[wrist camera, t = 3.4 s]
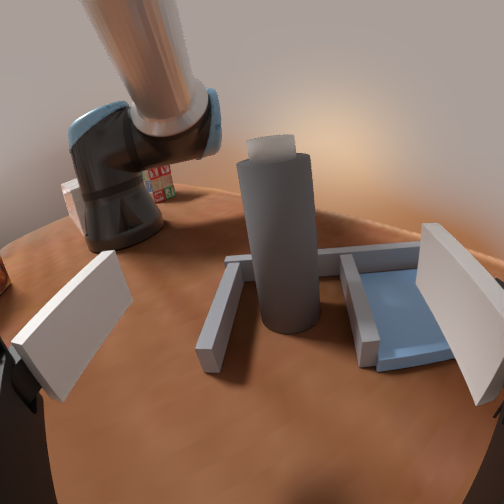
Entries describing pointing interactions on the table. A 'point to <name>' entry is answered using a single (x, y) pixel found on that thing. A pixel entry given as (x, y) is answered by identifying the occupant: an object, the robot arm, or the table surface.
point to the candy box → (3, 277)
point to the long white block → (75, 203)
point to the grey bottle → (281, 232)
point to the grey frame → (349, 307)
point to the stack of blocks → (159, 183)
